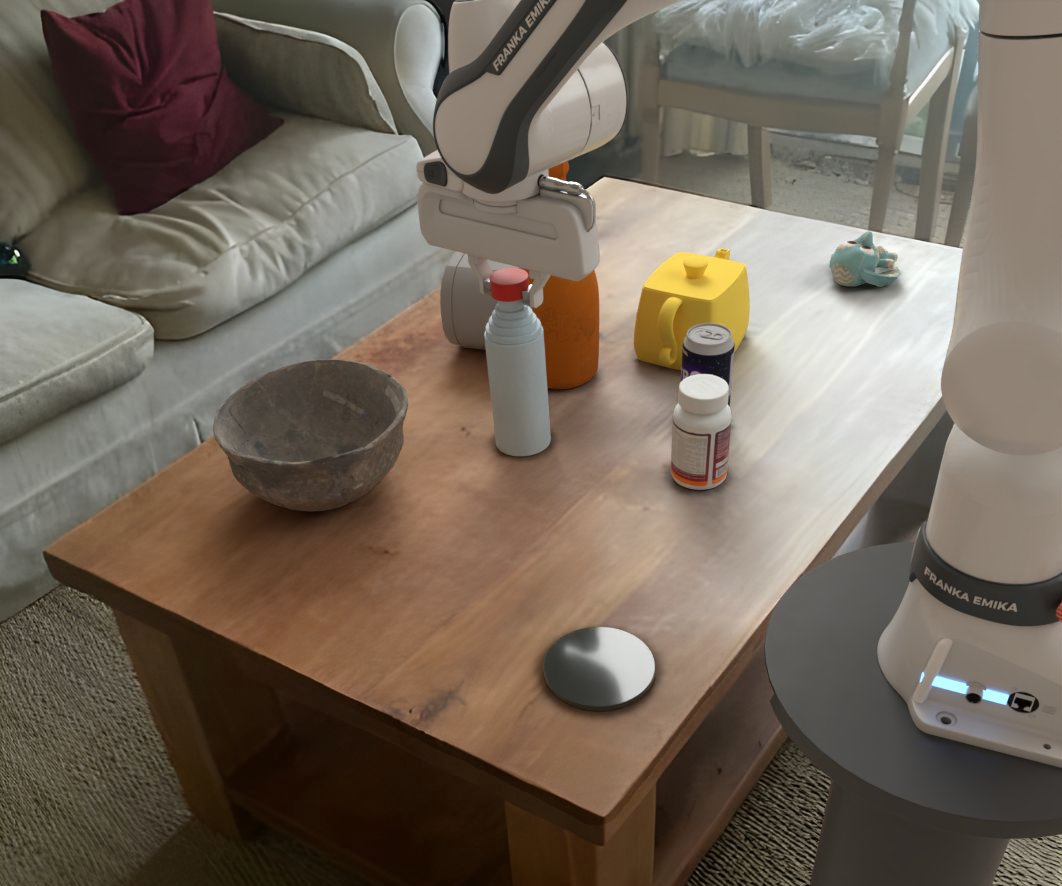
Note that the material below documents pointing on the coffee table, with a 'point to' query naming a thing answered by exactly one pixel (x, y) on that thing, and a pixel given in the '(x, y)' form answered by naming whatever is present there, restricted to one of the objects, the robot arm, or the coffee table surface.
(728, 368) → the beverage can
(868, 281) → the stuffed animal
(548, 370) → the wine bottle
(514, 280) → the cap
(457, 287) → the alarm clock
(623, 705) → the coaster
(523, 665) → the coffee table surface
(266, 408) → the bowl
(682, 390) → the pill bottle
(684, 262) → the teapot
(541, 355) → the bottle
